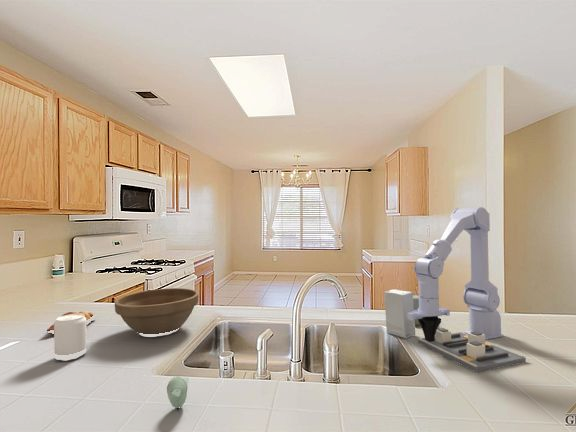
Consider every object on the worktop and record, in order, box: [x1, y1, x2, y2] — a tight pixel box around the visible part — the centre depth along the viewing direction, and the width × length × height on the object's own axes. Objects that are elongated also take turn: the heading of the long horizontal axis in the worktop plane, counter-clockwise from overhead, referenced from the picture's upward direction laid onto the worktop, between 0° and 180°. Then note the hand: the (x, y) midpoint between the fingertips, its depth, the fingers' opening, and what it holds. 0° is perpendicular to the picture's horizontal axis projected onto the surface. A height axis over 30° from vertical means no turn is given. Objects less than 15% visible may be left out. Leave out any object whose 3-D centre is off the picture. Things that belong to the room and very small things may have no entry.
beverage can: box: [53, 314, 88, 355], centre depth 100 cm, size 8×8×12 cm
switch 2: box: [467, 341, 485, 360], centre depth 93 cm, size 4×3×4 cm
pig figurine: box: [166, 375, 189, 409], centre depth 72 cm, size 8×4×7 cm, turn 2°
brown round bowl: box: [114, 287, 199, 334], centre depth 122 cm, size 28×28×13 cm
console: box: [417, 331, 527, 373], centre depth 100 cm, size 18×22×2 cm
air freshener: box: [413, 294, 421, 326], centre depth 128 cm, size 11×8×10 cm
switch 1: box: [435, 327, 452, 344], centre depth 104 cm, size 4×3×4 cm
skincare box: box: [383, 288, 416, 339], centre depth 116 cm, size 8×6×15 cm
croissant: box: [46, 311, 95, 332], centre depth 126 cm, size 21×10×8 cm, turn 168°
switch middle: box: [468, 331, 486, 345], centre depth 101 cm, size 4×3×4 cm
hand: (429, 340), depth 102 cm, fingers closed
